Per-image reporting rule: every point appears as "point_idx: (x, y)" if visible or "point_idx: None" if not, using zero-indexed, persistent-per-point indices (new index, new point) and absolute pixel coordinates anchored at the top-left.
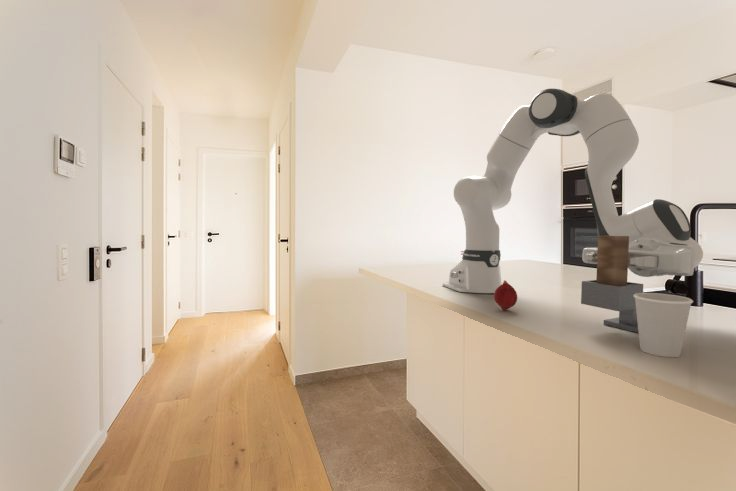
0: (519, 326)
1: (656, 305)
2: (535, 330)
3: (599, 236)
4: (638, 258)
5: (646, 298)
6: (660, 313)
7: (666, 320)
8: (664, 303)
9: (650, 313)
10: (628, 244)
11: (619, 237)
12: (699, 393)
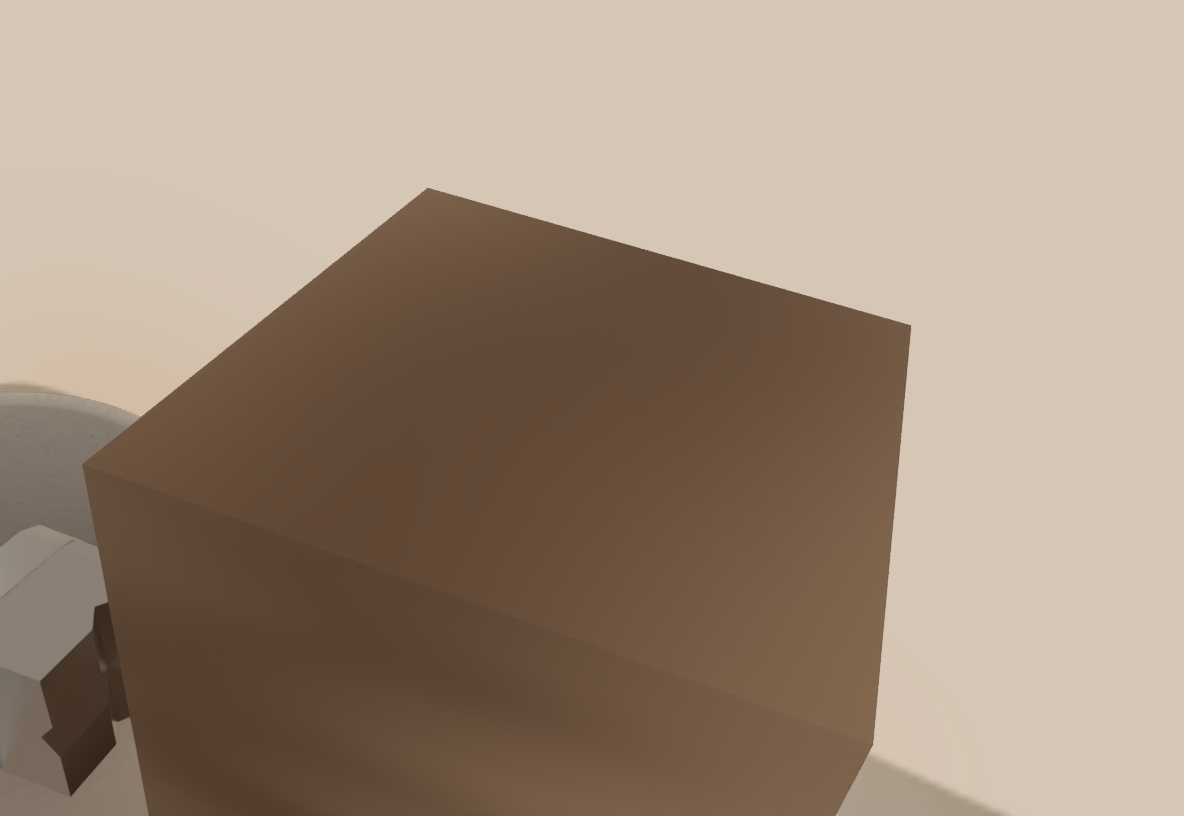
0: (985, 810)
1: (69, 435)
2: (854, 782)
3: (862, 327)
4: (38, 528)
5: (128, 414)
6: (48, 483)
7: (14, 525)
8: (14, 411)
9: None
10: (133, 679)
11: (381, 251)
12: (53, 390)
